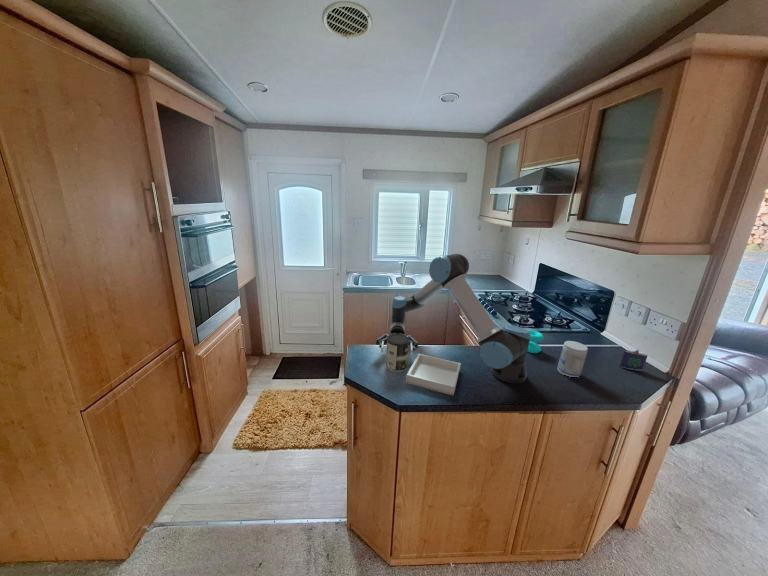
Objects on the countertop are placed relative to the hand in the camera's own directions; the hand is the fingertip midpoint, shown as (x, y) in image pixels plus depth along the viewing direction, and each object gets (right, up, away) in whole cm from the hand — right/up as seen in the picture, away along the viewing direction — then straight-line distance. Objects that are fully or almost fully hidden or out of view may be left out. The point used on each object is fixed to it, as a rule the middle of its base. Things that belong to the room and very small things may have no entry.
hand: (396, 351), depth 134 cm
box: (+16, -10, -4) cm, 20 cm away
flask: (+117, -11, +11) cm, 118 cm away
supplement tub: (+81, -11, +4) cm, 83 cm away
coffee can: (0, -8, +3) cm, 8 cm away
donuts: (+74, -5, +26) cm, 78 cm away
